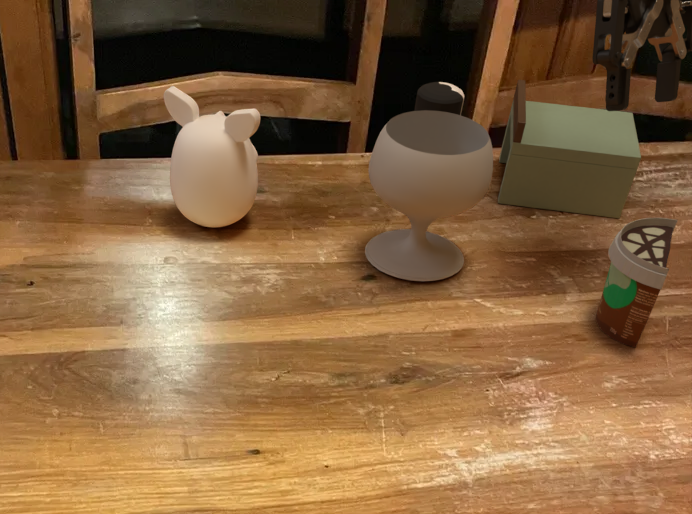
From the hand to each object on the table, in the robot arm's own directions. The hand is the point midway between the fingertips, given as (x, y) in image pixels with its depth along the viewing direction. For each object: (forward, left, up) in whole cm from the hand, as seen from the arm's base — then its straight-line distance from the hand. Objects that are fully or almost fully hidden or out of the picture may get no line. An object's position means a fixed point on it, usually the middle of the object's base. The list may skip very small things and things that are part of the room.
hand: (641, 105), depth 98 cm
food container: (-3, +9, -20) cm, 22 cm away
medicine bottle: (+21, -20, -20) cm, 35 cm away
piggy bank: (+47, -2, -20) cm, 51 cm away
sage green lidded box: (+3, -23, -20) cm, 30 cm away
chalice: (+21, +1, -20) cm, 29 cm away
